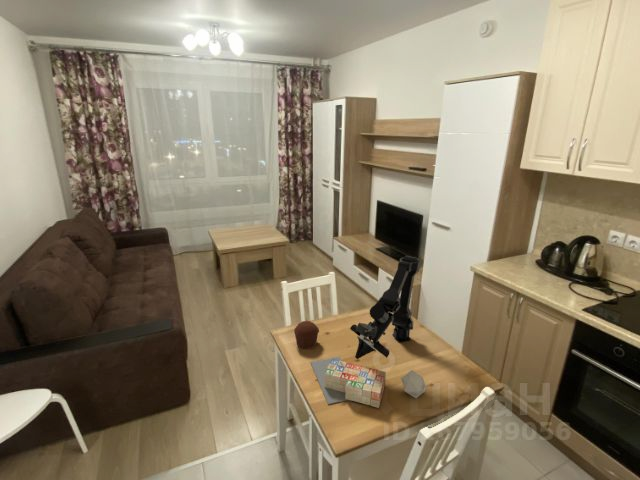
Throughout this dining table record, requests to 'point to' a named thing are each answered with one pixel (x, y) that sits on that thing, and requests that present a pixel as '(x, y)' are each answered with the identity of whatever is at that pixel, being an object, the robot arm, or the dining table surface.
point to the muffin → (306, 334)
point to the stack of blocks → (356, 382)
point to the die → (413, 384)
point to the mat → (319, 371)
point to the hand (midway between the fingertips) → (356, 358)
